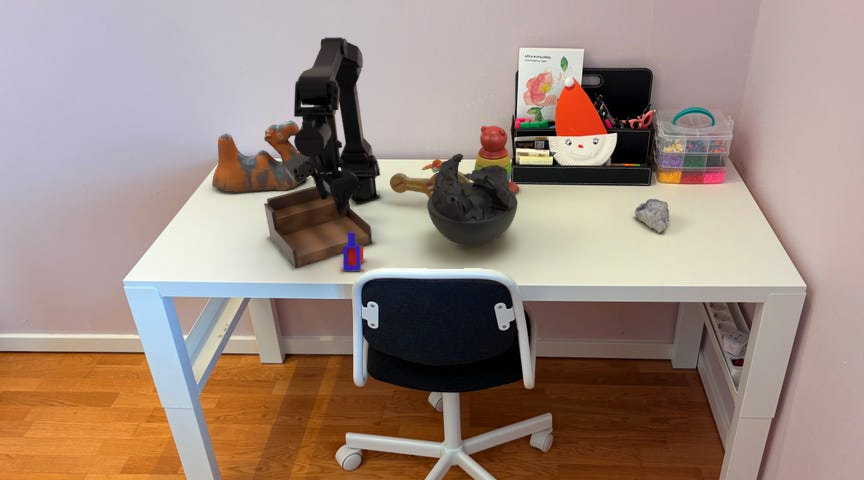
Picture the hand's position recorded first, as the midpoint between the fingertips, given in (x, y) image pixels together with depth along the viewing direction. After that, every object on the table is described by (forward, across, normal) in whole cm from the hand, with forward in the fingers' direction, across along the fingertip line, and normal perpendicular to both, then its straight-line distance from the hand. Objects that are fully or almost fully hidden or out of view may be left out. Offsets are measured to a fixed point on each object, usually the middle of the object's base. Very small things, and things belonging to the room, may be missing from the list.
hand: (332, 207), depth 154 cm
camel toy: (+13, -48, -2) cm, 49 cm away
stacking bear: (+13, -9, +47) cm, 49 cm away
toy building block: (+13, +4, +2) cm, 14 cm away
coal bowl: (+13, +9, +29) cm, 33 cm away
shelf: (+13, -10, 0) cm, 17 cm away
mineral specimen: (+13, +26, +68) cm, 74 cm away
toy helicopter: (+13, -10, +30) cm, 34 cm away
